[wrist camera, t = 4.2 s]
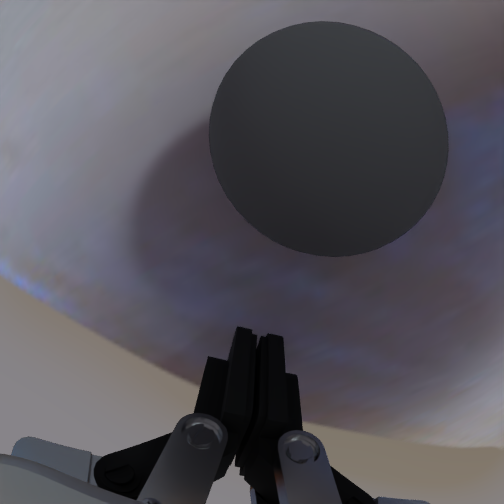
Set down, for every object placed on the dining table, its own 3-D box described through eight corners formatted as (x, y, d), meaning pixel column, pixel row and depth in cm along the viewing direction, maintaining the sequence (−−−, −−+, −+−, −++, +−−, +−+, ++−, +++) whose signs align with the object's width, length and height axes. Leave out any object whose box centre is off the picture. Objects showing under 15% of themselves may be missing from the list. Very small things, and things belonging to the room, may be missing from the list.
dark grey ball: (368, 48, 8) (451, -18, 3) (404, 202, 10) (505, 260, 5) (206, 80, 9) (142, 22, 4) (252, 238, 11) (237, 334, 5)
